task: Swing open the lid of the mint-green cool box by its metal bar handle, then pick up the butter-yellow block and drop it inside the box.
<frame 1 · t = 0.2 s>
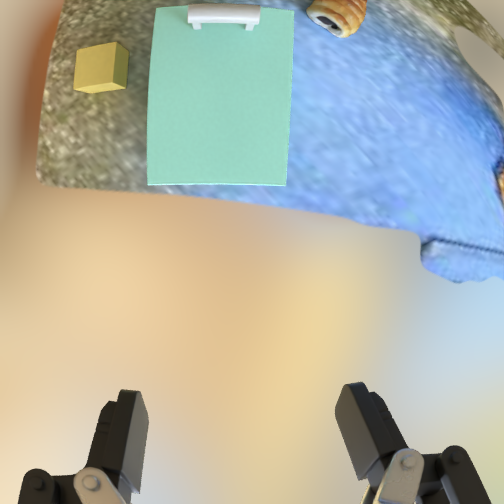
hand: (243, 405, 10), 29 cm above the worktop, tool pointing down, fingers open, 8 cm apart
block: (109, 72, 28), on the worktop
pastry: (334, 11, 28), on the worktop
lid: (219, 85, 21), point 11 cm above the worktop, hinge at 0.0°
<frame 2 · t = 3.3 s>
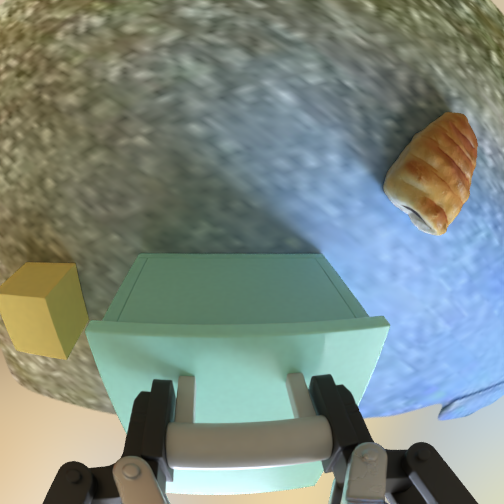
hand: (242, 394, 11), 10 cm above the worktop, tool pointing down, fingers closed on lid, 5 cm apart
block: (56, 291, 20), on the worktop
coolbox: (230, 348, 23), on the worktop
pastry: (423, 170, 19), on the worktop
lid: (241, 473, 13), point 11 cm above the worktop, hinge at 0.0°, touching gripper
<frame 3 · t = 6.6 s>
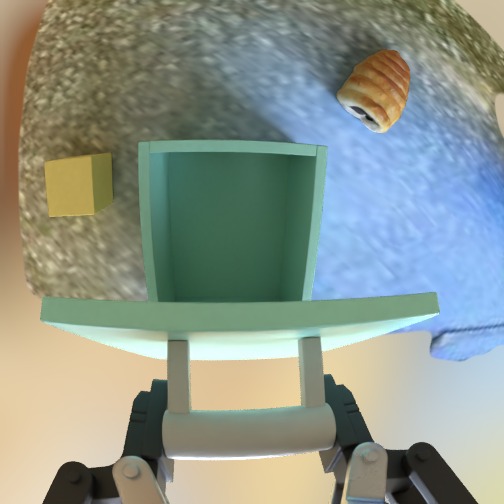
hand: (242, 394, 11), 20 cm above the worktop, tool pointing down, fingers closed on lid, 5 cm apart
block: (90, 179, 26), on the worktop
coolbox: (227, 225, 29), on the worktop
pastry: (369, 90, 26), on the worktop
lid: (236, 383, 15), point 17 cm above the worktop, hinge at 45.8°, touching gripper
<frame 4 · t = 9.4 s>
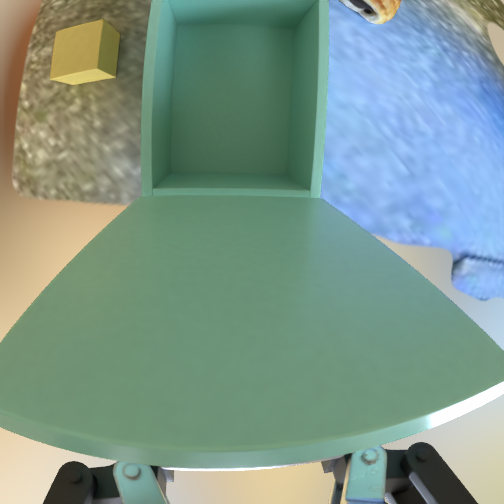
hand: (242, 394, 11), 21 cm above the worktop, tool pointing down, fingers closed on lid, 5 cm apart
block: (95, 59, 22), on the worktop
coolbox: (231, 95, 25), on the worktop
lid: (239, 295, 13), point 18 cm above the worktop, hinge at 90.1°, touching gripper
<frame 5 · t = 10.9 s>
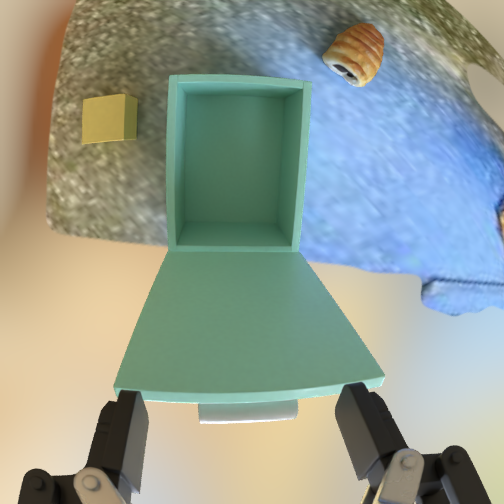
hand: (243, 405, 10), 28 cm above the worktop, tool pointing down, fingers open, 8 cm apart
block: (117, 120, 30), on the worktop
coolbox: (232, 158, 33), on the worktop
pastry: (350, 55, 30), on the worktop
lid: (240, 326, 21), point 18 cm above the worktop, hinge at 88.1°
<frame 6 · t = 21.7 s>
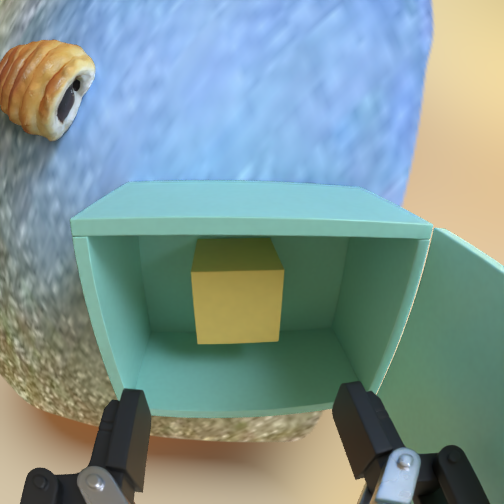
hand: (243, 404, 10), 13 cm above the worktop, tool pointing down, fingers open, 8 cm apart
block: (234, 271, 21), point 1 cm above the worktop, touching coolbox
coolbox: (244, 265, 22), on the worktop
pastry: (49, 87, 15), on the worktop
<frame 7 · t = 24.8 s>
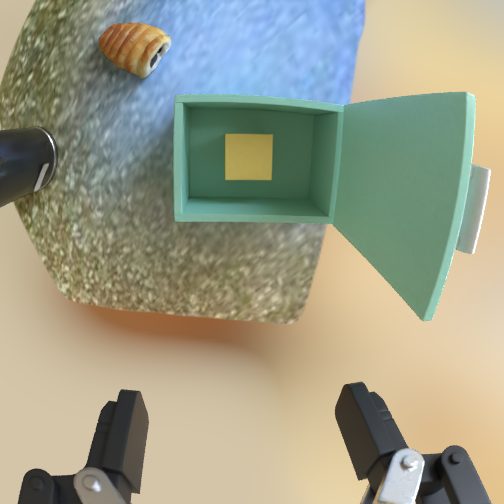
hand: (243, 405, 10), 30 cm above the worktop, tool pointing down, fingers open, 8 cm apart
block: (245, 153, 35), point 1 cm above the worktop, touching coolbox
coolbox: (251, 153, 36), on the worktop
pastry: (137, 50, 29), on the worktop
lid: (405, 184, 20), point 18 cm above the worktop, hinge at 88.1°
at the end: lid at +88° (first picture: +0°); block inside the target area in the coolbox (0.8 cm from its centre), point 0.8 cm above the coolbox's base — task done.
